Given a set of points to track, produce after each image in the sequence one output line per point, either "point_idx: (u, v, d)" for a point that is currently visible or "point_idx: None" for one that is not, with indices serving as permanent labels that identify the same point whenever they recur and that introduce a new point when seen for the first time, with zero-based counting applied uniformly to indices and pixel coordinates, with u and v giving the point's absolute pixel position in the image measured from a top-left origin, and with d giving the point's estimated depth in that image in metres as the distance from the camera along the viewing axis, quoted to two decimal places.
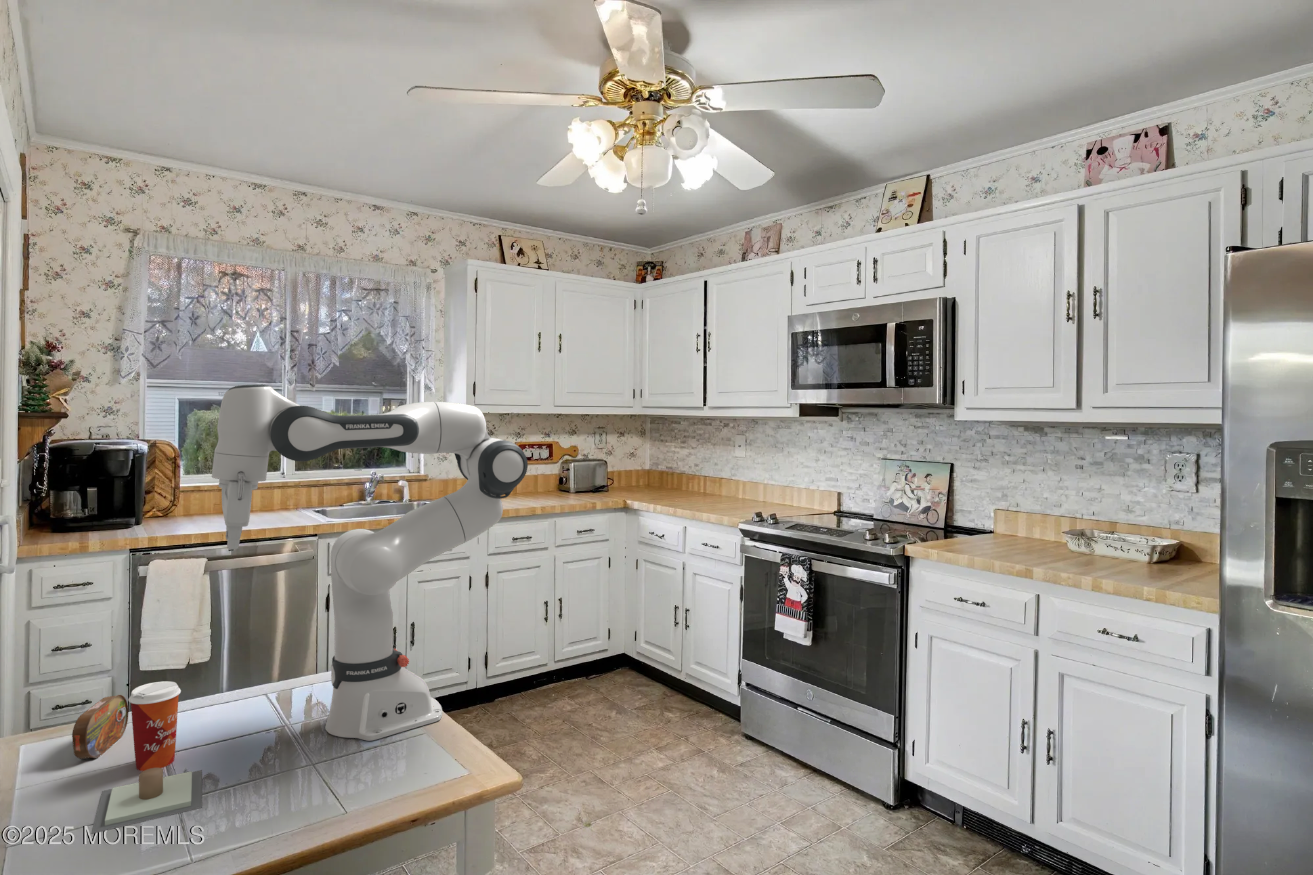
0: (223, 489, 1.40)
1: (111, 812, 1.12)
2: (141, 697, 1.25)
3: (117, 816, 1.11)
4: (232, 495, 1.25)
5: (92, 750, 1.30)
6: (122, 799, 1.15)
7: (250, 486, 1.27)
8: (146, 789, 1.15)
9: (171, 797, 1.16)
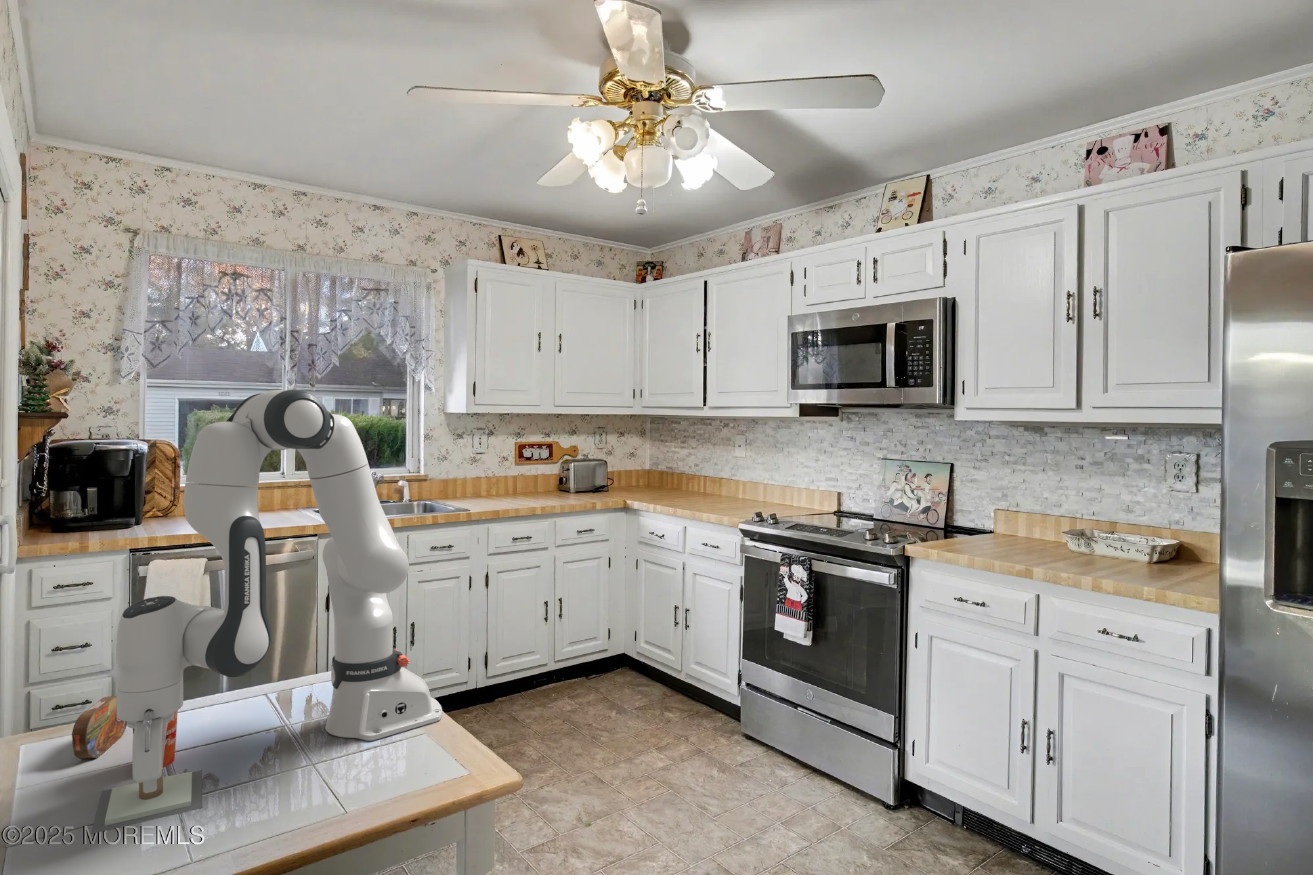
0: None
1: (111, 812, 1.12)
2: None
3: (117, 816, 1.11)
4: (137, 748, 1.08)
5: (92, 749, 1.30)
6: (122, 799, 1.15)
7: (159, 731, 1.10)
8: None
9: (171, 797, 1.16)
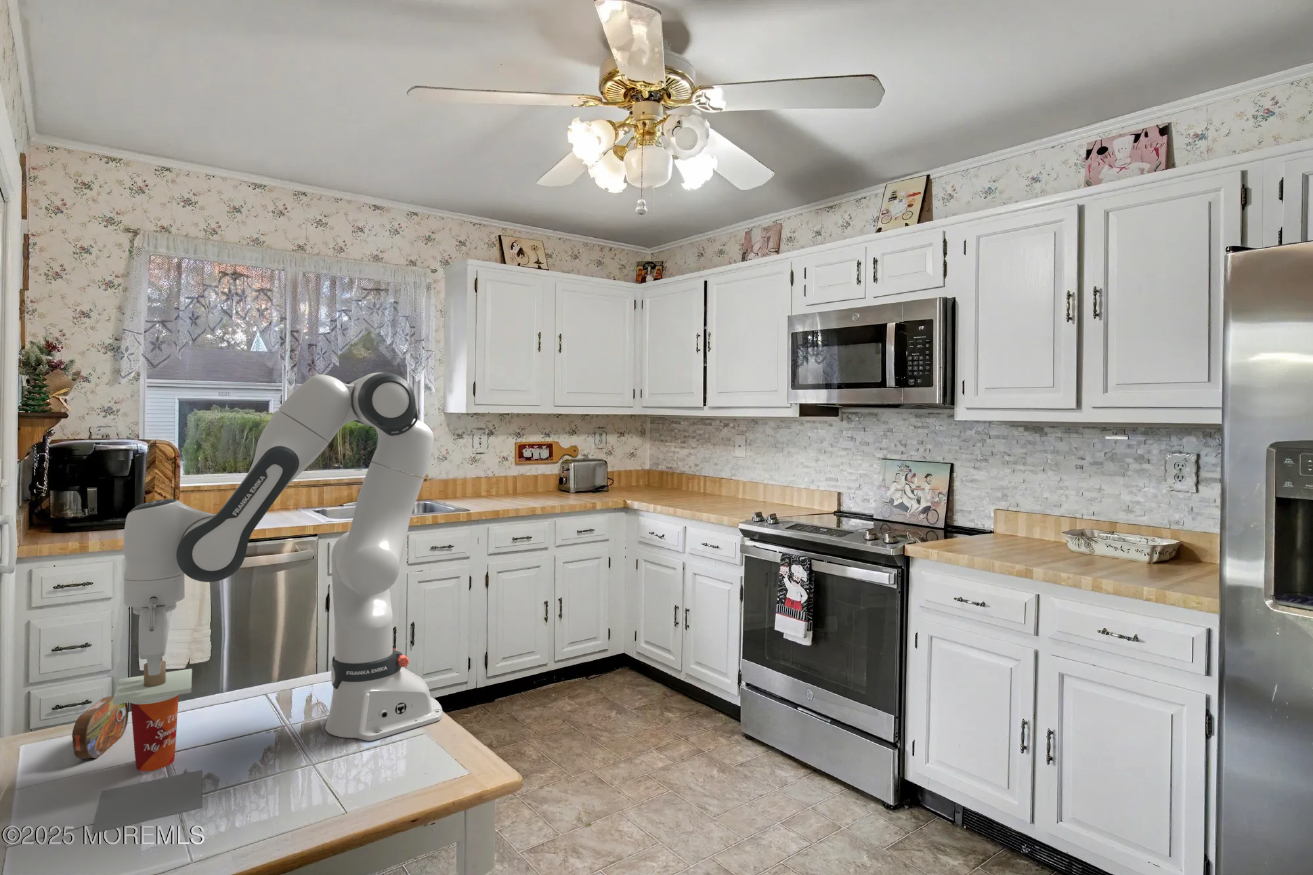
0: None
1: (118, 695, 1.23)
2: None
3: (124, 697, 1.22)
4: (142, 627, 1.19)
5: (92, 750, 1.30)
6: (128, 686, 1.27)
7: (162, 614, 1.21)
8: (150, 677, 1.27)
9: (173, 685, 1.27)
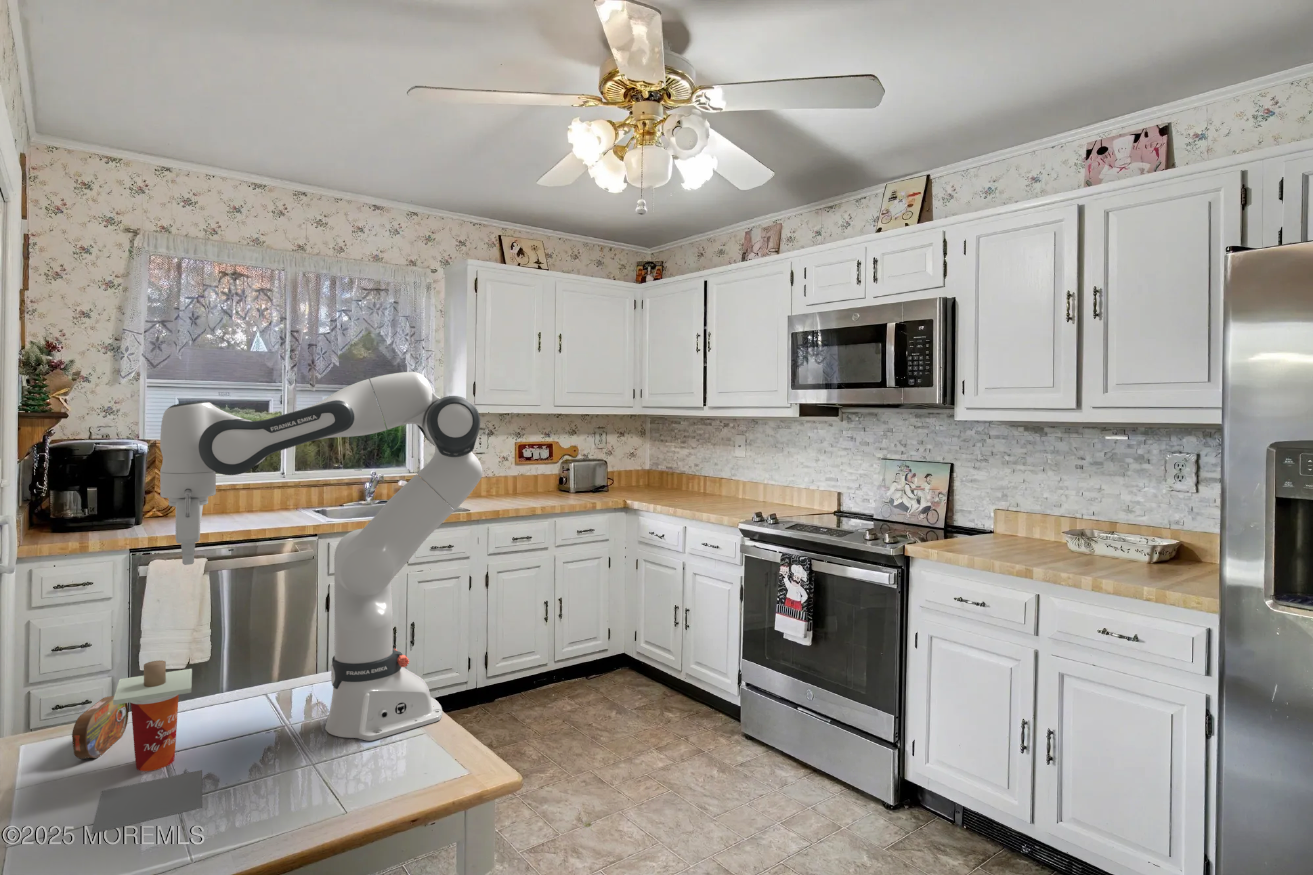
0: None
1: (118, 695, 1.23)
2: None
3: (124, 697, 1.22)
4: (179, 513, 1.28)
5: (92, 750, 1.30)
6: (128, 686, 1.27)
7: (197, 502, 1.30)
8: (150, 677, 1.27)
9: (173, 685, 1.27)
